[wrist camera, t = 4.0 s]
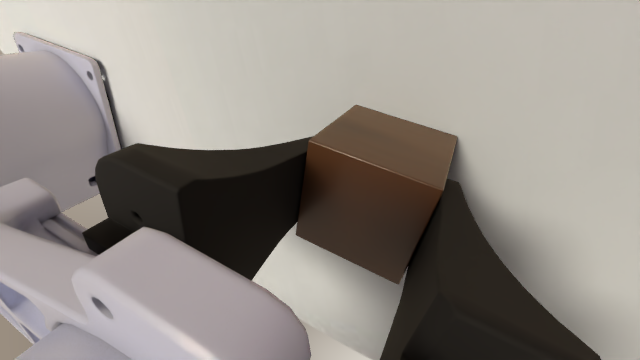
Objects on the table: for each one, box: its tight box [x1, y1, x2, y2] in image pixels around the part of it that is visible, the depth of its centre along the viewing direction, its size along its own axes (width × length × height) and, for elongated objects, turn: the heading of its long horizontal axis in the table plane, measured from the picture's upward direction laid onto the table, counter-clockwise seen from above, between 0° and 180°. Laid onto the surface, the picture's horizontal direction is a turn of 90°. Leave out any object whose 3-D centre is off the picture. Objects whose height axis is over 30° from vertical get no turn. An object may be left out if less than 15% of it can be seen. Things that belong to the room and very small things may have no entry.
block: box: [296, 105, 457, 284], centre depth 11 cm, size 4×4×4 cm
